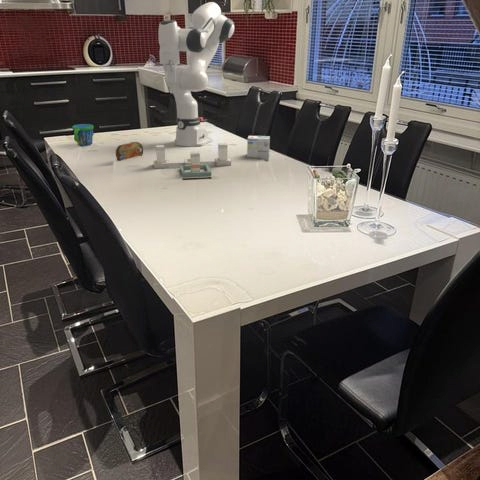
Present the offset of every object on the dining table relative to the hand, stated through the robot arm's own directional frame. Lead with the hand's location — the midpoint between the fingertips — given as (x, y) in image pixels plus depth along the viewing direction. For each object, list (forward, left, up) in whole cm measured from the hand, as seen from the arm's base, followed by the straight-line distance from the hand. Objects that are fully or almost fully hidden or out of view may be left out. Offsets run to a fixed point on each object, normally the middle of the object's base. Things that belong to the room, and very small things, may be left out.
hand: (171, 91), depth 214 cm
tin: (+16, -14, -31) cm, 38 cm away
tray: (+17, +27, -31) cm, 45 cm away
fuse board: (+9, +18, -31) cm, 37 cm away
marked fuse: (+18, +27, -30) cm, 44 cm away
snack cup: (+7, -57, -31) cm, 65 cm away
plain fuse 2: (-1, +28, -30) cm, 41 cm away
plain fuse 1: (+19, +9, -30) cm, 36 cm away
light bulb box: (-23, +34, -31) cm, 52 cm away
